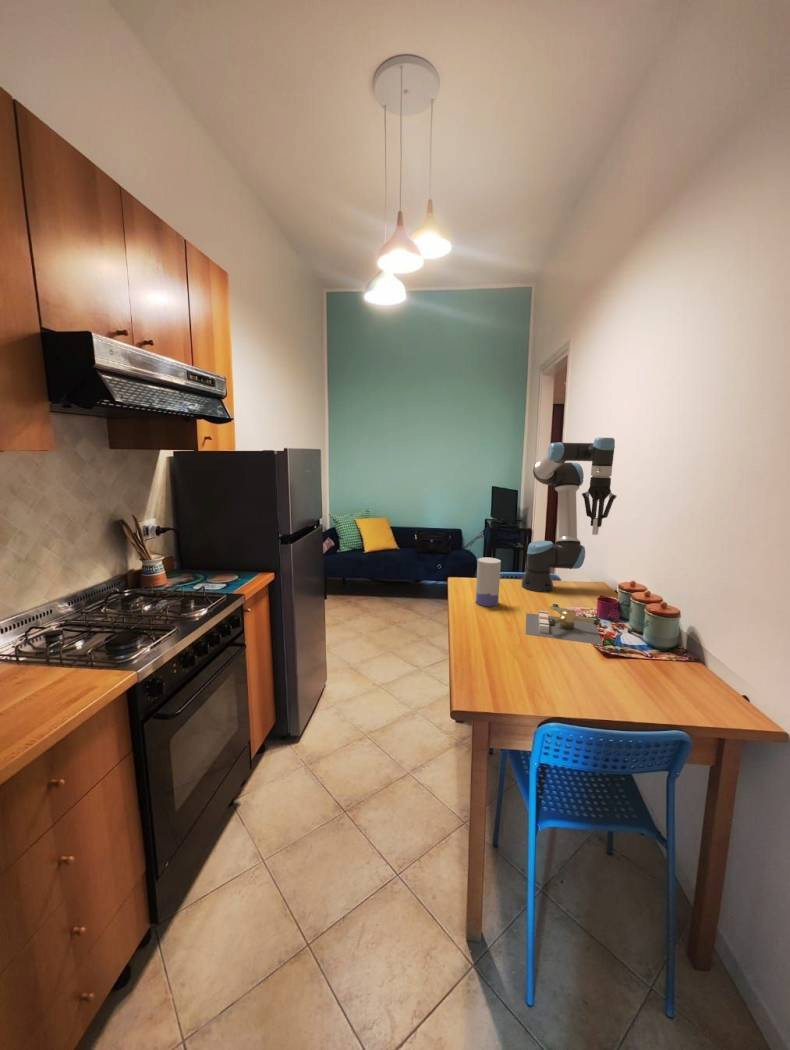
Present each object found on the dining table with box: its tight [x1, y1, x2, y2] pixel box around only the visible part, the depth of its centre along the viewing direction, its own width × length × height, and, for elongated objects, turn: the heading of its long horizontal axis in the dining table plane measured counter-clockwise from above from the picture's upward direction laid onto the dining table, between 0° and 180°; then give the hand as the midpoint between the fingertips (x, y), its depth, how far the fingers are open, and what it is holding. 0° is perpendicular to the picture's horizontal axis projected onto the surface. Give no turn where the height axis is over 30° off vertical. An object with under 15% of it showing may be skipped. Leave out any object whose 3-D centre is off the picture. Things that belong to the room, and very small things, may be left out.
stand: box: [525, 610, 604, 646], centre depth 163 cm, size 22×26×4 cm
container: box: [475, 556, 502, 608], centre depth 190 cm, size 10×10×20 cm
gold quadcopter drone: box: [549, 603, 601, 629], centre depth 162 cm, size 20×18×7 cm
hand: (595, 534), depth 175 cm, fingers closed
